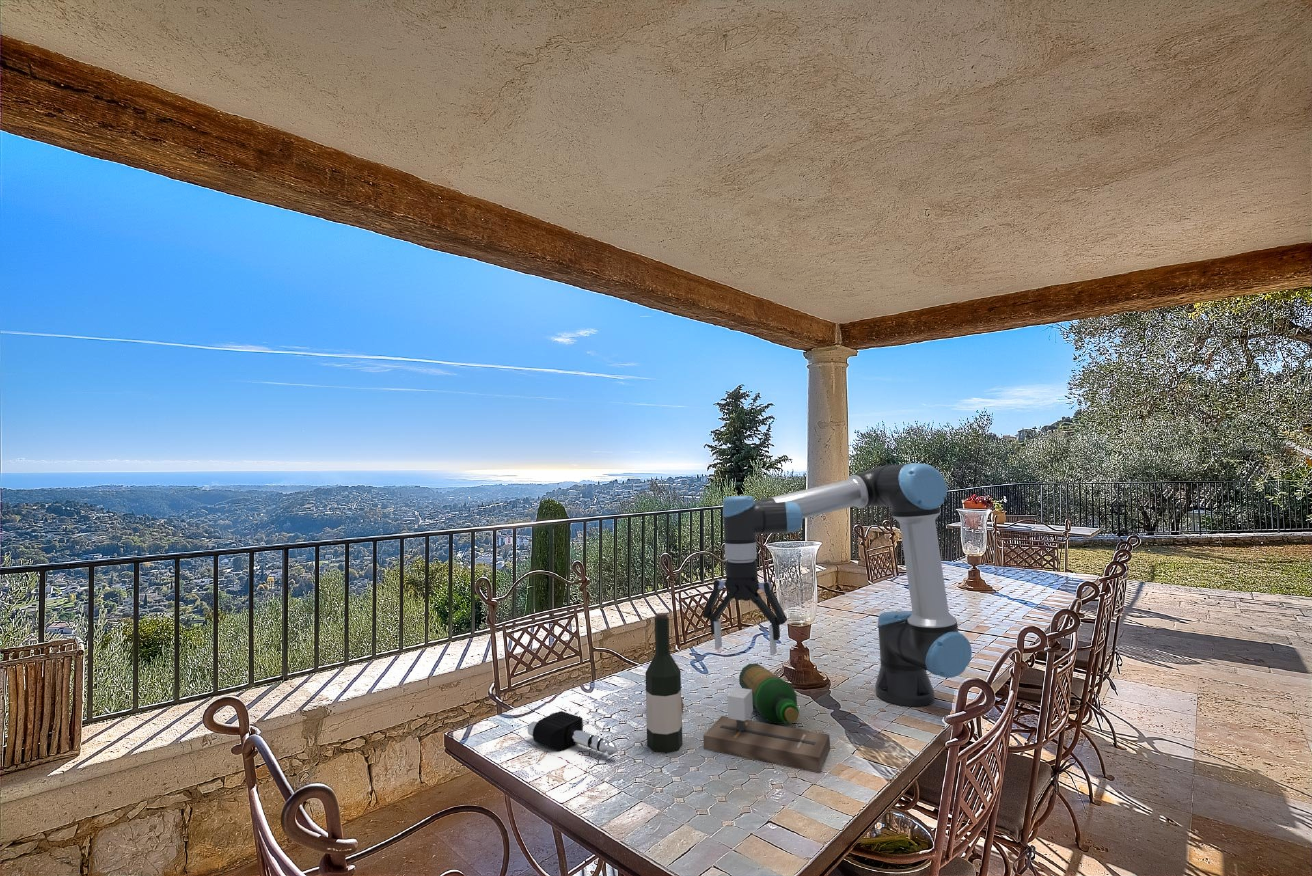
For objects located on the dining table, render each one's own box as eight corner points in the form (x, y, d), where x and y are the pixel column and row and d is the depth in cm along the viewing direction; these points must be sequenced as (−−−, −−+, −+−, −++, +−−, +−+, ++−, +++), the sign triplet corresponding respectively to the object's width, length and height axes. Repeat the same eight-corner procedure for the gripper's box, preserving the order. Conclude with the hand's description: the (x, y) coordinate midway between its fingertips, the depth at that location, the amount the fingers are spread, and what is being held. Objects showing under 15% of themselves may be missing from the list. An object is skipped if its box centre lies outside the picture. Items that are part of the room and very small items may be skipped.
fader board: (830, 748, 128) (829, 734, 129) (819, 772, 118) (818, 757, 118) (722, 728, 140) (722, 715, 140) (703, 748, 129) (703, 734, 130)
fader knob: (753, 725, 134) (752, 689, 134) (745, 736, 128) (743, 698, 129) (737, 723, 135) (736, 687, 136) (728, 732, 130) (727, 695, 131)
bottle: (773, 662, 163) (817, 696, 135) (766, 700, 161) (808, 742, 134) (739, 655, 161) (775, 688, 134) (731, 693, 160) (766, 734, 132)
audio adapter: (558, 705, 144) (633, 729, 129) (558, 726, 144) (633, 753, 129) (524, 719, 136) (600, 747, 120) (524, 743, 135) (600, 773, 120)
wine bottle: (645, 738, 136) (643, 610, 138) (680, 736, 136) (676, 609, 139) (648, 754, 127) (645, 618, 130) (685, 752, 128) (681, 617, 131)
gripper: (796, 559, 134) (801, 651, 132) (699, 556, 145) (702, 641, 143) (788, 564, 127) (794, 661, 125) (687, 561, 138) (691, 650, 136)
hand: (745, 651), depth 134 cm, fingers open, 13 cm apart
